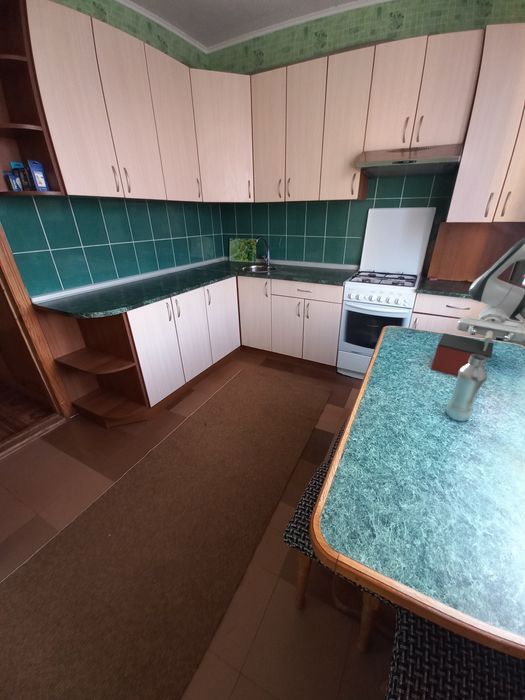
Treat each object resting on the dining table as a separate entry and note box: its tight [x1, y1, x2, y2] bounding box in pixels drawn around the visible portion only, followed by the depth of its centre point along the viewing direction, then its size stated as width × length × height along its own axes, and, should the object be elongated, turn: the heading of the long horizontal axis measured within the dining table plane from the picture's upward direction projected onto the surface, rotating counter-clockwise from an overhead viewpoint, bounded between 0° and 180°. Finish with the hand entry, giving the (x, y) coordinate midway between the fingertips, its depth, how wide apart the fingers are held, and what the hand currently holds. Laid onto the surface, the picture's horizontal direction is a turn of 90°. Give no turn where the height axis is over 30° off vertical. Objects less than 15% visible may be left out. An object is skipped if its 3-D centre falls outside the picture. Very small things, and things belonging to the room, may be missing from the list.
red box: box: [430, 345, 489, 377], centre depth 107 cm, size 15×12×10 cm
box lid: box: [437, 331, 494, 359], centre depth 103 cm, size 16×12×6 cm
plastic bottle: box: [445, 354, 488, 422], centre depth 81 cm, size 6×7×20 cm
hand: (489, 336), depth 100 cm, fingers open, 8 cm apart
